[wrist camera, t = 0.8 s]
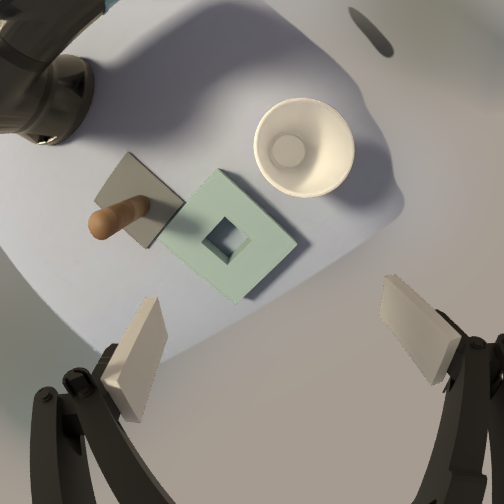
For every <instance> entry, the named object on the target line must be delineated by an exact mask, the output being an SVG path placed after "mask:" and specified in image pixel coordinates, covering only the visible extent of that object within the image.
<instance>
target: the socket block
mask: <svg viewBox="0 0 504 504" xmlns="http://www.w3.org/2000/svg"><path fill="white" fill-rule="evenodd" d="M224 217H226V218H227V219H228V220H229V221H230V222H232V223H233V224H234V225H235V226H236V227H237V228H238V229H239V230H240V231H242V232H243V233H244V234H245V235H246V236H247V237H248V238H247V239H246V240H245V241H244V242H243V243H242V244H241V245H240V246H239V247H238V248H237V250H236V251H235V252H234V253H233V254H232V255H231V256H230V257H229V258H228V257H227V256H226V255H225V254H224V253H223V252H222V251H220V250H219V249H218V248H217V247H216V246H215V245H213V244H212V243H211V242H210V241H209V240H208V239H207V238H205V237H206V236H207V235H208V234H209V233H210V232H211V231H212V230H213V229H214V227H215V226H216V225H217V224H218V223H219V222H220V221H221V220H222V219H223V218H224ZM157 240H158V241H159V242H160V243H162V244H163V245H164V246H165V247H166V248H167V249H168V250H170V251H171V252H172V253H173V254H174V255H175V256H177V257H178V258H179V259H180V260H181V261H182V262H184V263H185V264H186V265H187V266H188V267H190V268H191V269H192V270H193V271H194V272H195V273H197V274H198V275H199V276H200V277H201V278H203V279H204V280H205V281H206V282H208V283H209V284H210V285H211V286H212V287H214V288H215V289H216V290H217V291H219V292H220V293H221V294H222V295H223V296H225V297H226V298H227V299H228V300H230V301H231V302H232V303H233V304H235V305H236V304H237V303H238V302H239V301H240V300H241V299H242V298H243V297H244V296H245V295H246V294H247V293H248V292H249V291H250V290H251V289H252V288H253V287H254V286H256V285H257V284H258V283H259V282H260V281H261V280H262V279H263V278H264V277H265V276H266V275H267V274H268V273H269V272H270V271H271V270H272V269H273V268H274V267H275V266H276V265H277V264H278V263H279V262H280V261H281V260H282V259H283V258H284V257H285V256H286V255H288V254H289V253H290V252H291V251H292V250H293V249H294V248H295V247H296V246H297V245H298V244H297V242H296V241H295V239H294V238H293V237H292V236H291V235H290V234H289V233H288V232H287V231H286V230H285V229H284V228H283V227H282V226H281V225H280V224H279V223H278V222H276V221H275V220H274V219H273V218H272V217H271V216H270V215H269V214H268V213H267V212H266V211H265V210H264V209H263V208H262V207H261V206H259V205H258V204H257V203H256V202H255V201H254V200H253V199H252V198H251V197H250V196H249V195H248V194H247V193H246V192H244V191H243V190H242V189H241V188H240V187H239V186H238V185H237V184H236V183H235V182H233V181H232V180H231V179H230V178H229V177H228V176H227V175H226V174H225V173H224V172H222V171H221V170H220V169H216V170H215V172H214V173H213V174H212V175H211V176H210V177H209V178H208V179H207V180H206V181H205V183H204V184H203V185H202V186H201V187H200V188H199V189H198V190H197V192H196V193H195V194H194V195H193V196H192V197H191V198H190V200H189V201H188V202H187V203H186V204H185V205H184V207H183V208H182V209H181V210H180V211H179V212H178V214H177V215H176V216H175V217H174V218H173V220H172V221H171V222H170V223H169V224H168V226H167V227H166V228H165V229H164V231H163V232H162V233H161V234H160V235H159V237H158V238H157Z"/></svg>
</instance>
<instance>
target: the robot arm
mask: <svg viewBox="0 0 504 504" xmlns="http://www.w3.org/2000/svg"><path fill="white" fill-rule="evenodd" d="M118 1H119V0H0V134H5V133H17V134H18V135H20V136H22V137H24V138H25V139H27V140H29V141H31V142H32V143H35V144H39V145H52V144H56V143H59V142H61V141H63V140H65V139H66V138H68V137H69V136H70V135H71V134H72V133H73V132H74V131H75V130H76V129H77V128H78V126H79V125H80V124H81V122H82V121H83V119H84V117H85V116H86V114H87V111H88V109H89V107H90V104H91V101H92V97H93V92H94V76H93V72H92V70H91V68H90V66H89V65H88V63H87V62H85V61H84V60H82V59H80V58H78V57H76V56H74V55H68V54H64V55H59V54H60V53H61V52H62V51H63V50H64V49H65V48H66V47H67V46H68V45H69V44H70V43H71V42H72V41H73V40H74V39H75V38H76V37H78V36H79V35H80V34H81V33H82V32H83V31H84V30H85V29H86V28H87V27H88V26H90V25H91V24H92V23H93V22H94V21H95V20H97V19H98V18H99V17H100V16H101V15H104V14H106V13H107V12H108V10H109V9H110V8H111V7H112V6H113V5H114V4H116V3H117V2H118ZM379 316H380V317H381V318H382V319H383V321H384V322H385V323H386V325H387V326H388V327H389V329H390V330H391V331H392V333H393V334H394V335H395V337H396V338H397V339H398V341H399V342H400V343H401V345H402V346H403V347H404V348H405V350H406V351H407V353H408V354H409V356H410V357H411V358H412V359H413V361H414V362H415V364H416V365H417V367H418V368H419V370H420V371H421V372H422V373H423V375H424V377H425V378H426V379H427V381H428V382H429V384H430V385H431V386H432V385H435V384H437V383H439V382H442V381H443V379H444V377H445V375H446V373H448V374H449V375H450V378H449V381H448V382H447V384H446V387H445V388H444V390H443V393H444V392H445V391H446V396H445V402H444V407H443V412H442V416H441V421H440V425H439V430H438V433H437V438H436V441H435V444H434V448H433V451H432V455H431V458H430V461H429V464H428V467H427V470H426V473H425V475H424V478H423V481H422V484H421V486H420V488H419V491H418V493H417V496H416V498H415V499H414V501H413V502H412V504H482V501H483V497H484V493H485V489H486V485H487V476H486V475H483V474H482V466H483V461H484V455H485V449H486V441H487V433H488V432H489V440H490V450H491V464H492V504H504V334H500V335H499V336H498V338H497V340H496V342H495V343H486V342H485V341H484V340H483V339H482V338H480V337H476V336H472V337H468V336H467V335H466V334H465V333H464V332H463V331H462V330H461V329H460V328H459V327H458V326H457V325H456V324H454V322H453V321H452V320H450V318H449V317H448V316H447V315H446V314H445V313H443V312H441V311H439V310H437V309H436V310H434V309H433V308H432V307H431V306H430V305H429V304H428V303H427V302H426V301H425V300H424V299H422V298H421V297H420V296H419V295H418V294H417V293H416V292H415V291H414V290H413V289H412V288H410V287H409V286H408V285H407V284H406V283H405V282H404V281H402V280H401V279H400V278H399V277H398V276H397V275H396V274H395V275H388V276H385V280H384V288H383V294H382V301H381V308H380V313H379ZM167 338H168V334H167V331H166V327H165V323H164V320H163V316H162V312H161V308H160V304H159V300H158V297H145V299H144V300H143V302H142V304H141V306H140V307H139V309H138V311H137V312H136V314H135V316H134V318H133V319H132V321H131V323H130V325H129V326H128V328H127V330H126V332H125V334H124V335H123V337H122V339H121V341H120V343H119V344H113V343H112V344H111V345H110V346H109V347H108V348H106V349H105V351H104V353H103V354H102V356H101V358H100V360H99V362H98V364H97V365H96V367H95V369H94V371H93V372H92V374H90V373H89V371H88V370H87V369H85V368H79V367H78V368H74V369H72V370H70V371H68V372H67V373H66V374H65V375H64V377H63V385H64V387H65V388H66V390H67V391H68V394H58V392H57V391H56V390H55V388H53V387H44V388H41V389H40V390H39V391H38V392H37V393H36V394H35V397H34V402H33V411H32V421H31V437H30V478H31V494H32V504H96V500H95V496H94V491H93V487H92V482H91V477H90V472H89V467H88V460H87V454H86V446H85V438H84V435H85V436H86V438H87V441H88V443H89V445H90V448H91V450H92V452H93V455H94V457H95V459H96V461H97V463H98V465H99V467H100V469H101V471H102V473H103V475H104V477H105V479H106V481H107V483H108V484H109V486H110V488H111V490H112V492H113V493H114V495H115V497H116V498H117V500H118V502H119V503H120V504H176V503H175V502H174V501H173V500H172V498H171V497H170V496H169V495H168V493H167V492H166V491H165V490H164V488H163V487H162V486H161V485H160V483H159V482H158V481H157V479H156V478H155V477H154V475H153V474H152V473H151V471H150V470H149V468H148V467H147V465H146V464H145V462H144V461H143V460H142V458H141V457H140V455H139V453H138V452H137V450H136V449H135V447H134V446H133V444H132V443H131V441H130V440H129V438H128V436H127V434H126V432H125V431H124V429H123V427H122V426H121V424H120V422H119V421H118V419H119V416H120V414H121V415H122V417H123V418H124V420H125V421H127V422H135V423H141V420H142V416H143V413H144V410H145V407H146V403H147V400H148V397H149V393H150V390H151V387H152V384H153V381H154V377H155V374H156V371H157V368H158V365H159V362H160V359H161V356H162V353H163V350H164V347H165V344H166V341H167ZM502 374H503V380H502V377H501V376H502Z"/></svg>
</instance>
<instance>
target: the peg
mask: <svg viewBox="0 0 504 504" xmlns="http://www.w3.org/2000/svg"><path fill="white" fill-rule="evenodd" d="M149 210H150V202H149V200H148V198H147V197H145V196H143V195H137V196H135V197H132V198H129V199H127V200H124V201H121V202H119V203H116V204H113V205H111V206H108V207H106V208H103V209H101V210H98V211H96V212H94V213H93V214H92V215H91V216H90V218H89V221H88V227H89V230H90V233H91V234H92V235H93V236H94V237H95V238H96V239H99V240H105V239H107V238H108V237H110V236H112V235H113V234H115V233H116V232H118V231H120V230H121V229H123V228H124V227H126V226H128V225H129V224H131V223H133V222H134V221H136V220H138V219H139V218H141V217H143V216H144V215H146V214H147V213H148V212H149Z"/></svg>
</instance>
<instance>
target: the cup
mask: <svg viewBox="0 0 504 504" xmlns="http://www.w3.org/2000/svg"><path fill="white" fill-rule="evenodd" d="M354 153H355V149H354V140H353V136H352V133H351V130H350V128H349V126H348V124H347V123H346V121H345V120H344V118H343V117H342V116H341V115H340V114H339V113H338V112H337V111H336V110H335V109H334V108H332V107H331V106H329V105H328V104H326V103H323V102H321V101H319V100H315V99H310V98H294V99H288V100H286V101H283V102H281V103H278V104H277V105H275V106H274V107H272V108H271V109H270V110H269V111H268V112H267V113H266V114H265V115H264V116H263V118H262V119H261V121H260V123H259V124H258V127H257V130H256V132H255V138H254V154H255V158H256V162H257V165H258V167H259V169H260V171H261V173H262V174H263V175H264V177H265V178H266V179H267V180H268V182H270V183H271V184H272V185H273V186H274V187H275V188H277V189H278V190H280V191H282V192H284V193H286V194H289V195H291V196H294V197H301V198H314V197H318V196H322V195H325V194H327V193H329V192H331V191H333V190H334V189H335V188H337V187H338V186H339V185H340V184H341V183H342V182H343V181H344V180H345V179H346V177H347V175H348V174H349V172H350V170H351V167H352V164H353V160H354Z"/></svg>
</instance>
